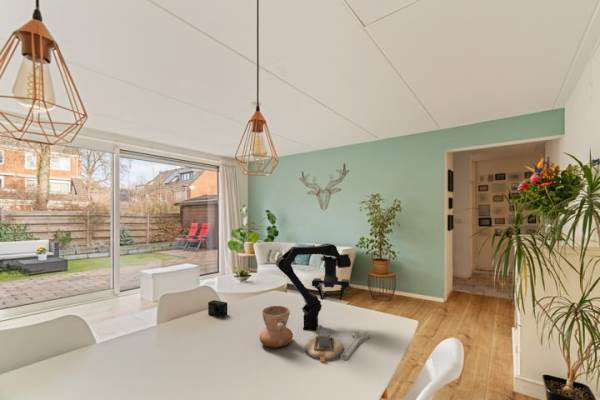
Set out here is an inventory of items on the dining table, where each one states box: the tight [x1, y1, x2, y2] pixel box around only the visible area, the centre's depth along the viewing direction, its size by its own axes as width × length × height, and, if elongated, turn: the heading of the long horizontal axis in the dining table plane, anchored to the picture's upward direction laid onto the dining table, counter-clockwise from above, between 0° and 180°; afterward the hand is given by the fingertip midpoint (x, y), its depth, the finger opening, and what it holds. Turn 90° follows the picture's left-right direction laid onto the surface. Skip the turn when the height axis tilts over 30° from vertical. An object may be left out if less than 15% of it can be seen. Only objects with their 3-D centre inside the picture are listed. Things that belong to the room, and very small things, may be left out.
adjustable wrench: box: [340, 331, 370, 361], centre depth 116 cm, size 25×6×2 cm, turn 144°
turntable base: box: [304, 347, 345, 363], centre depth 111 cm, size 16×17×2 cm
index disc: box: [305, 324, 344, 359], centre depth 112 cm, size 15×15×6 cm
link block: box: [319, 329, 331, 348], centre depth 112 cm, size 4×6×5 cm, turn 171°
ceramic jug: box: [259, 305, 294, 349], centre depth 120 cm, size 18×14×14 cm
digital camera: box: [207, 299, 228, 318], centre depth 153 cm, size 10×5×7 cm, turn 63°
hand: (331, 300), depth 138 cm, fingers open, 9 cm apart
